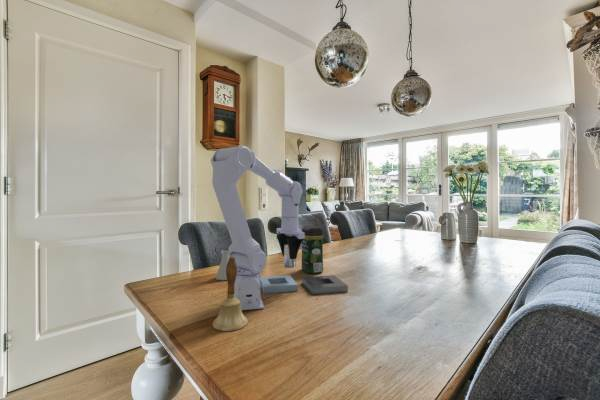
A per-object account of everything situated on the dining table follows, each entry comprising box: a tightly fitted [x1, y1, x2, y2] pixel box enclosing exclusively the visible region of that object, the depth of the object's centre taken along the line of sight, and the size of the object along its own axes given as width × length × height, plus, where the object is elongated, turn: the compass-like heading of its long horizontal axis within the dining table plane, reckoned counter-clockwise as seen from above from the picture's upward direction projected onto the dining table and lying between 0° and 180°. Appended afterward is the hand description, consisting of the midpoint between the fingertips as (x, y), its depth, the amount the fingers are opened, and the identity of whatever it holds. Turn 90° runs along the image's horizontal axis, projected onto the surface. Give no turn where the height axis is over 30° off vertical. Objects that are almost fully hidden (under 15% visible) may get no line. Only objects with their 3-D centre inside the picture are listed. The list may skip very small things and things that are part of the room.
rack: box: [260, 274, 299, 294], centre depth 96 cm, size 11×11×2 cm
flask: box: [215, 250, 230, 281], centre depth 105 cm, size 7×7×10 cm
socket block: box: [301, 274, 349, 296], centre depth 96 cm, size 12×12×2 cm
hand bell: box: [211, 257, 249, 332], centre depth 69 cm, size 8×8×16 cm
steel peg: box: [283, 243, 297, 269], centre depth 96 cm, size 4×4×8 cm
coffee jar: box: [301, 224, 324, 275], centre depth 116 cm, size 10×8×19 cm
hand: (289, 257), depth 96 cm, fingers closed on steel peg, 4 cm apart
